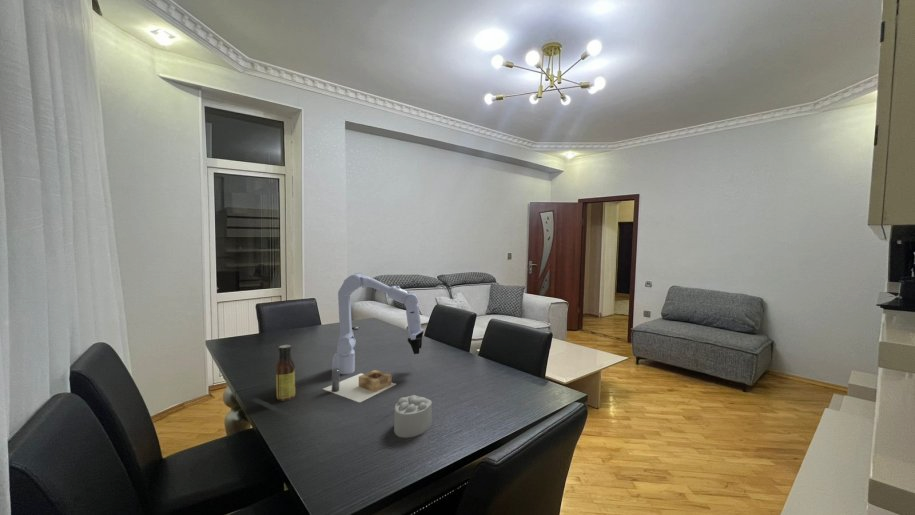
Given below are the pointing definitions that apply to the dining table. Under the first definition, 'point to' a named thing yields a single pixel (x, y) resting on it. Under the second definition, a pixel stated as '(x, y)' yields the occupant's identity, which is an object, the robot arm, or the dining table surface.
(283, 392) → the sauce bottle
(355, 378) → the board
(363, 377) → the square wooden ring
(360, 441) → the dining table surface
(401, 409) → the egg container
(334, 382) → the metal peg
